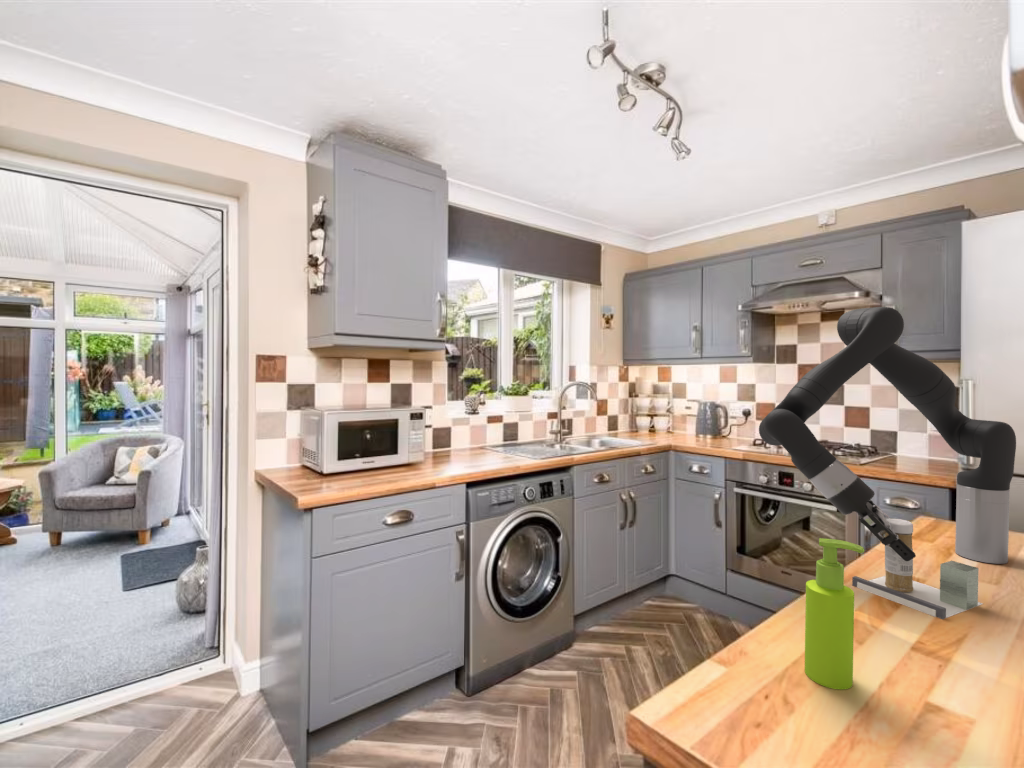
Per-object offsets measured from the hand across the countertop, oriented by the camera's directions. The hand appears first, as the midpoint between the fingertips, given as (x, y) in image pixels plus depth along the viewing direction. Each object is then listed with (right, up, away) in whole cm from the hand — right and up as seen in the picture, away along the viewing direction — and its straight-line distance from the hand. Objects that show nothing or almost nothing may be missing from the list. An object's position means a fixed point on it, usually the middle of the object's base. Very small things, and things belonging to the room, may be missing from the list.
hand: (909, 552), depth 96 cm
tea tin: (+5, -8, -5) cm, 11 cm away
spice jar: (-1, -8, +1) cm, 8 cm away
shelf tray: (0, -9, -1) cm, 9 cm away
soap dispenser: (-32, -10, -25) cm, 42 cm away
